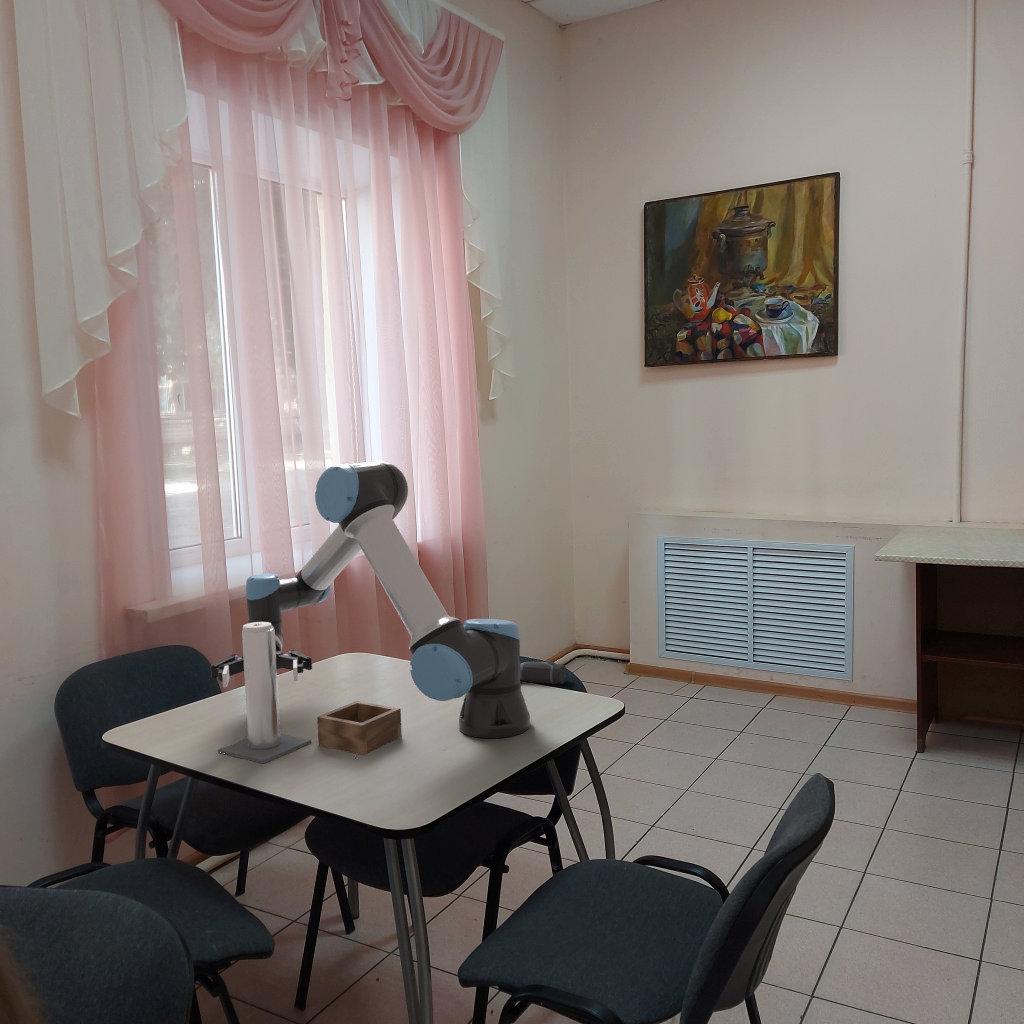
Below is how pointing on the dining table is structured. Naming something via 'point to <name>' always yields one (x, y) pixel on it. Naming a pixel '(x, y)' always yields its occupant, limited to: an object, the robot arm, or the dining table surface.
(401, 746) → the dining table surface
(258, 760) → the mat
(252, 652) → the shiny metal cylinder
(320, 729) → the square wooden frame
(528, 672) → the power drill
